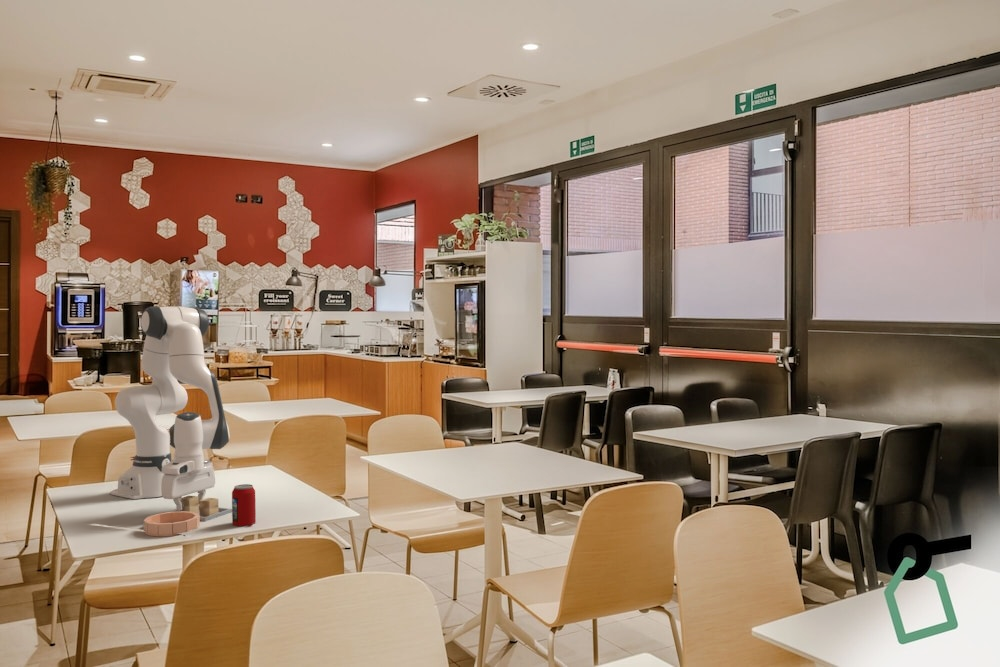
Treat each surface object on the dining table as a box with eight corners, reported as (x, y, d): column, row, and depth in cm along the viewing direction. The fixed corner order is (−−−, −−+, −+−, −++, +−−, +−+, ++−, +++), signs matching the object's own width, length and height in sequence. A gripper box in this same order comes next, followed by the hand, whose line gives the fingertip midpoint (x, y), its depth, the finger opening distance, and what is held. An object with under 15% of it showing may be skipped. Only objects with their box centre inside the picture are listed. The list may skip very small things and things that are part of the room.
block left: (179, 513, 258) (179, 498, 257) (189, 511, 261) (188, 495, 261) (189, 515, 256) (189, 499, 256) (198, 512, 260) (198, 496, 260)
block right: (199, 516, 255) (199, 500, 254) (208, 513, 258) (208, 497, 258) (209, 517, 253) (209, 501, 253) (218, 514, 257) (218, 498, 257)
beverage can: (235, 522, 249) (234, 484, 248) (257, 522, 249) (257, 483, 249) (229, 528, 242) (229, 488, 242) (253, 528, 242) (252, 488, 242)
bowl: (133, 533, 237) (133, 521, 237) (171, 521, 251) (171, 509, 251) (172, 538, 232) (172, 526, 231) (209, 525, 245) (209, 513, 245)
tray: (165, 518, 255) (165, 513, 255) (193, 509, 266) (193, 504, 266) (205, 523, 249) (205, 517, 249) (232, 513, 260) (232, 508, 260)
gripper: (204, 457, 269) (205, 499, 269) (157, 469, 250) (158, 513, 250) (219, 459, 267) (220, 500, 267) (173, 470, 248) (174, 515, 248)
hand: (189, 507), depth 259 cm, fingers open, 7 cm apart
